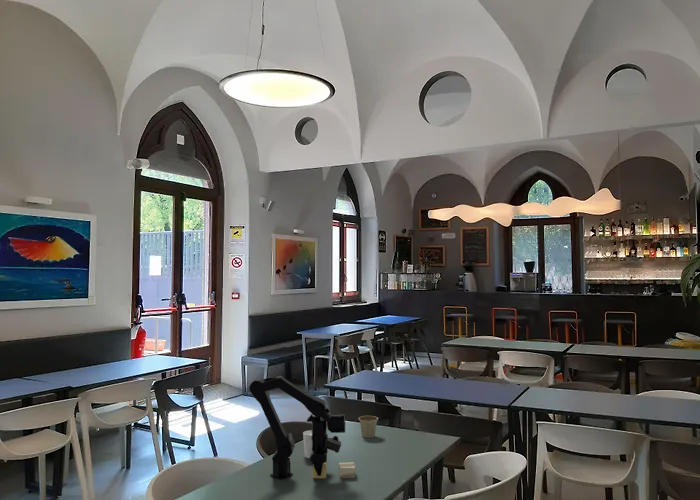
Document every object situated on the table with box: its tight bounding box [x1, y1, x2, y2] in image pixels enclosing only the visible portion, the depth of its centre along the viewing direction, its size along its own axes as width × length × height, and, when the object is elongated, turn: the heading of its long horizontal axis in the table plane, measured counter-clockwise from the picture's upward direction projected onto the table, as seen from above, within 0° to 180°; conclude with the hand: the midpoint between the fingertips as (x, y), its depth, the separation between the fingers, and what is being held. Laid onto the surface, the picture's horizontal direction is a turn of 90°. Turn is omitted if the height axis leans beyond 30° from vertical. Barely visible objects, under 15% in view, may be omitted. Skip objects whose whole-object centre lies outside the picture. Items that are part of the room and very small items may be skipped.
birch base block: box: [338, 461, 356, 479], centre depth 216 cm, size 6×6×4 cm
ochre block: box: [312, 462, 327, 479], centre depth 216 cm, size 5×5×5 cm
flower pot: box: [358, 415, 379, 439], centre depth 266 cm, size 9×9×9 cm
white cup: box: [302, 429, 312, 459], centre depth 239 cm, size 8×8×10 cm
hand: (319, 473), depth 216 cm, fingers closed on ochre block, 5 cm apart
